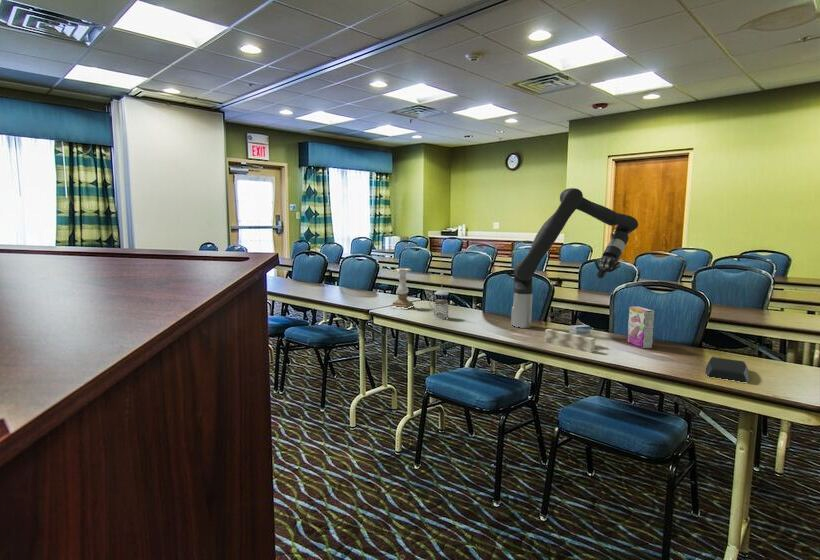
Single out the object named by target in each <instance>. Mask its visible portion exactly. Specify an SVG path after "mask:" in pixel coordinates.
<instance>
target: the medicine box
mask: <svg viewBox="0 0 820 560" xmlns="http://www.w3.org/2000/svg"><path fill="white" fill-rule="evenodd" d="M568 327H569V328H568V329H569V331H568V333H571V334H576V335H581V336H586V337H591V330H592V329H591V326H590V325H587V324H574V325H572V324H571V325H569V326H568Z"/></svg>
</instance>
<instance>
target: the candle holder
mask: <svg viewBox="0 0 820 560" xmlns="http://www.w3.org/2000/svg"><path fill="white" fill-rule="evenodd" d="M395 271H396V272H398V274H399V278H398V280H399V284H398V287H397V289H396V293H397V294H398V295H397V298H398V299H396V300H395V301H393V302H392V303H391V305H390V307H391V306H396V307H404V308H408V307H410V306H413V305H414V304H415V303H413V301H410V300H409V299H407V298H409V297H408V295H407V294H408V293H409V287H408V286H407V284H406V283H407V280H408V278H407V277H406V276H407V273H408V272H411V271H412V268H407V267H398V268H397V267H396V268H394V272H395Z"/></svg>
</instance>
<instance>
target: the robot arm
mask: <svg viewBox="0 0 820 560" xmlns="http://www.w3.org/2000/svg"><path fill="white" fill-rule="evenodd" d="M559 195H560V196H559V201H560V204H559V206H558V207H557V209H556V210H555V212H554V213H553V214H552V215H551V216H549V218H548V219H547V220H546V221H545V222H544V223H543V224H542V226H541V228H540V229H539V231H537V234H536V235H535V237H534V240H533V242H532V244H531V246H530V249H529V250H528V252H527V254H526V255H525V256H524V258H523V259H522V260H521V261H519V262H518V263H516V265H514V269H513V303H512V304H513V306H511V313H510V314H511V316H510V326H512V325H513V326H512V327H514V326H515V328H518V327H520V329H529V328H532V312H533V311H532V309H533V290H534V289H533V276H534V275H535V273H536V270H537V269H538V267H539V264H540V263H541V261H542V260H543V258H544V257H545V256H546V254H547V253H548V252H549V250H550V249H551V247H552V246H553V245H554V243H555V242H556V241H557V239H558V237H559V236H560V234H561V232H562V231H563V229H564V228H565V226H566V224H567V222H568V220H569V219H570V218H571V217H572V215H573V214H574V212H576V210H577V211H579V212H583V213H585V215H588V216H591V217H592V218H594V219H596V220H598V221H600V222H601V223H604V224H606V225H608V226H610V227H613V226H615V229H614V233H613V236H612V237H611V240H610V241H609V242H608V244H607V246H606V247H605V249H604V251H603V253H602V256H601V257H600V258H599V259H595V260H593V262H594V264H595V266H596V269H597V271H598V272H597V274H596V276H597V278H598V279H603V278H604V277H605V275H606V274H607V273H612V272H613V271H616V270H617V269H619V268H620V267H621V263H620V262H619V260H620V258H621V256H622V254H623V252H624V250H625V248H626V245H627V244H628V241H629V238H630V237H629V234H631V233H632V232H634V231H635V230H637V228H638V226H639V221H638V220H637V218H635V217H633V216H631V215H629V214H625V213H619V212H616V211H615V210H612V209H611V208H609V207H606V206H604V205H602V204H598V203H596V202H594V201H591V200H590V199H587V198H586V197H584V196H583V195H584V194H583V192H582V190H580V189H579V188H574V187H573V188H570V187H569V188H566V189H564V190H563V191H561V193H560V194H559Z"/></svg>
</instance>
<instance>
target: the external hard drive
mask: <svg viewBox="0 0 820 560" xmlns="http://www.w3.org/2000/svg"><path fill="white" fill-rule="evenodd" d="M706 374H707V376H709V377H715V378H721V379H728V380H735V381H740V382H747V383H748V381H749V382H750V379H749V378H750V371H749V368H748V365H747V363H746V362H745V361H743V360H736V359H731V358H730V359H728V358H722V357H721V358H720V357H715V356H712V357H711V358H710V359H709V360H708V362H707V364H706V367H705V375H706ZM707 376H706V377H707ZM748 384H749V383H748Z"/></svg>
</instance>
